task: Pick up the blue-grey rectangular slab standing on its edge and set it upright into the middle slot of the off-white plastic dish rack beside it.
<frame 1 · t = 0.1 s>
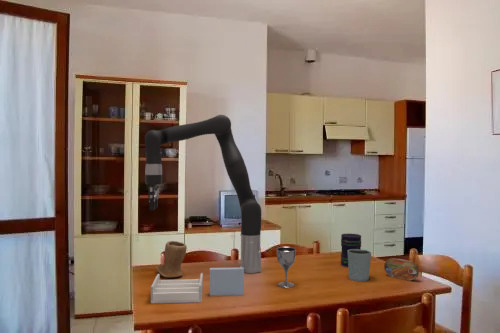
hand: (153, 209, 180), 29 cm above the table, tool pointing down, fingers open, 8 cm apart
storage jar: (350, 265, 195), on the table
blue-grey rectangular slab: (226, 294, 151), on the table
grey tapered cup: (359, 278, 173), on the table
wine glass: (286, 285, 163), on the table
tin: (401, 278, 174), on the table
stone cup: (172, 275, 177), on the table
dish rack: (178, 295, 150), on the table
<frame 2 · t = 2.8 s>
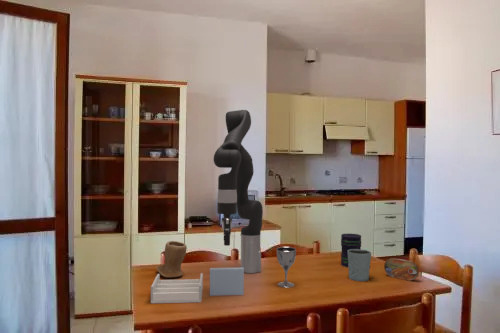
hand: (226, 243, 151), 20 cm above the table, tool pointing down, fingers open, 8 cm apart
nothing on the table moved.
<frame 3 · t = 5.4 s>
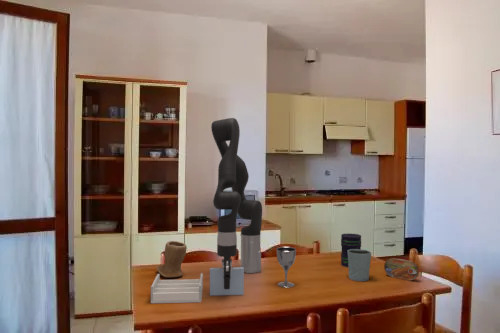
hand: (226, 287, 151), 3 cm above the table, tool pointing down, fingers closed on blue-grey rectangular slab, 2 cm apart
blue-grey rectangular slab: (226, 294, 151), on the table, touching gripper
everything else where it was.
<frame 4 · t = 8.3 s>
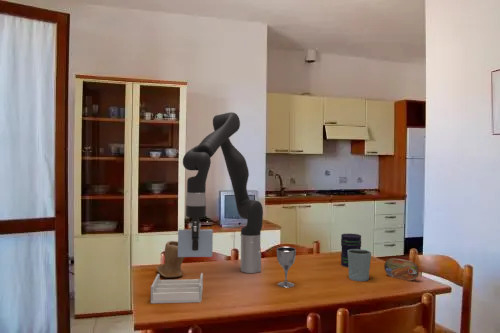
hand: (195, 249, 150), 18 cm above the table, tool pointing down, fingers closed on blue-grey rectangular slab, 2 cm apart
blue-grey rectangular slab: (195, 256, 149), point 15 cm above the table, touching gripper
everything else where it was.
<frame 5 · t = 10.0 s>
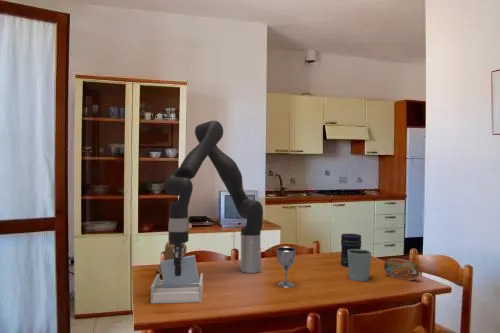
hand: (178, 274, 150), 8 cm above the table, tool pointing down, fingers closed on blue-grey rectangular slab
blue-grey rectangular slab: (181, 284, 150), point 4 cm above the table, tilted 10°, touching gripper
everything else where it was.
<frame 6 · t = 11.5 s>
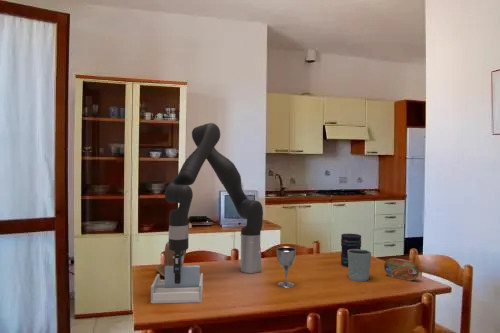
hand: (178, 280, 150), 5 cm above the table, tool pointing down, fingers open, 5 cm apart
blue-grey rectangular slab: (182, 292, 150), point 1 cm above the table, touching dish rack
everything else where it was.
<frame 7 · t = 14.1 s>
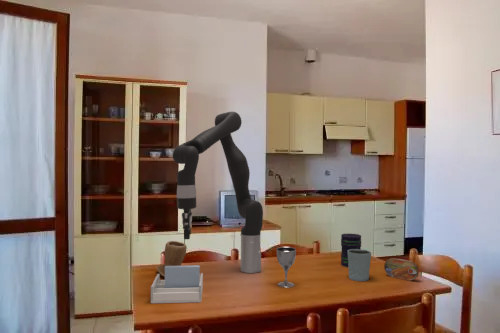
hand: (187, 236, 156), 21 cm above the table, tool pointing down, fingers open, 8 cm apart
nothing on the table moved.
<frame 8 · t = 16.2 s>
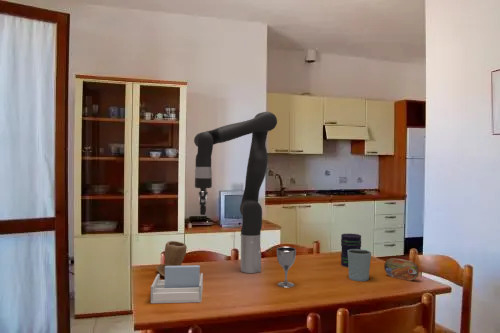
hand: (203, 213, 174), 28 cm above the table, tool pointing down, fingers open, 8 cm apart
nothing on the table moved.
at the end: blue-grey rectangular slab 1.5 cm off-centre on the dish rack, point 1.0 cm above the dish rack's base; blue-grey rectangular slab tilted 0°; the gripper is holding nothing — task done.
